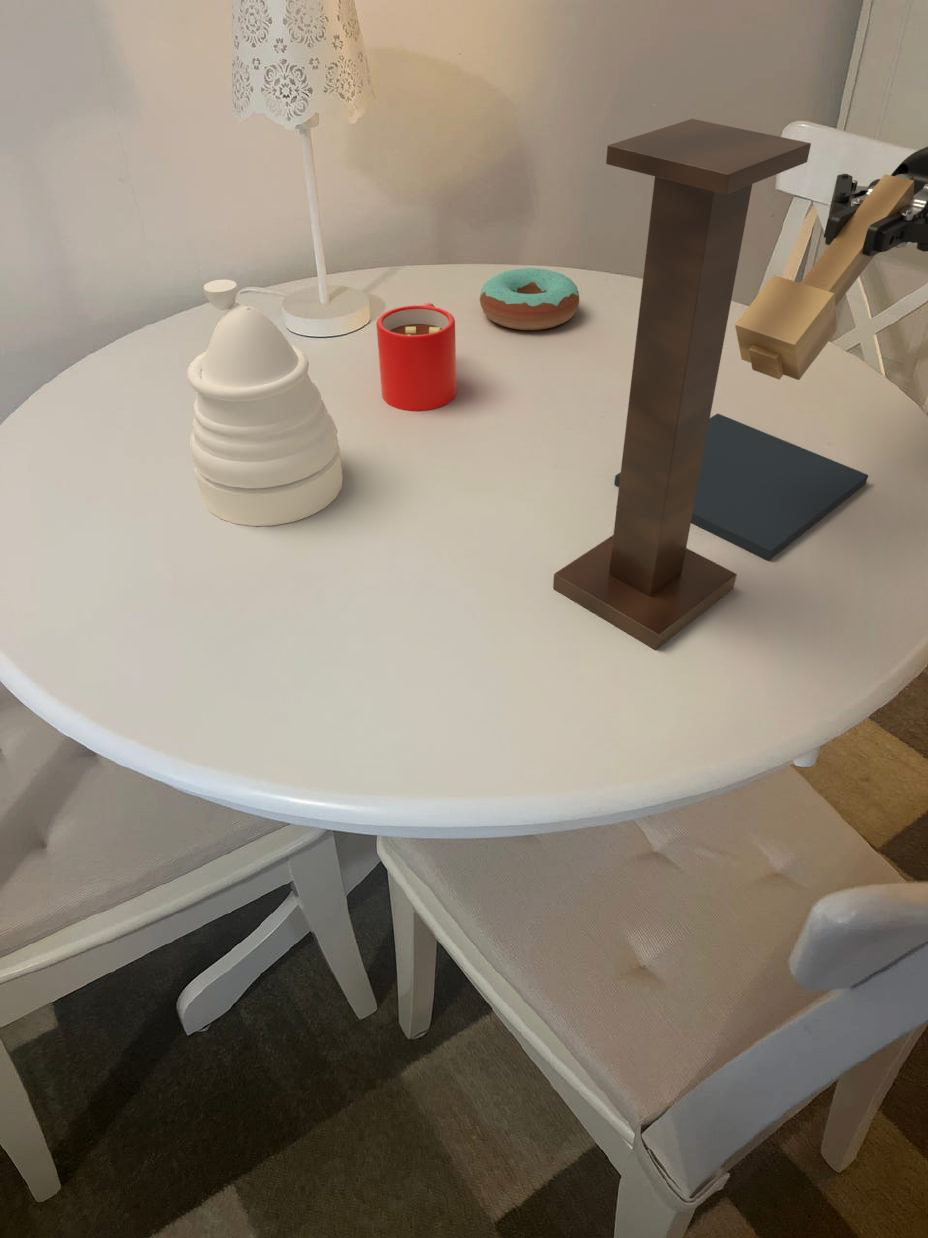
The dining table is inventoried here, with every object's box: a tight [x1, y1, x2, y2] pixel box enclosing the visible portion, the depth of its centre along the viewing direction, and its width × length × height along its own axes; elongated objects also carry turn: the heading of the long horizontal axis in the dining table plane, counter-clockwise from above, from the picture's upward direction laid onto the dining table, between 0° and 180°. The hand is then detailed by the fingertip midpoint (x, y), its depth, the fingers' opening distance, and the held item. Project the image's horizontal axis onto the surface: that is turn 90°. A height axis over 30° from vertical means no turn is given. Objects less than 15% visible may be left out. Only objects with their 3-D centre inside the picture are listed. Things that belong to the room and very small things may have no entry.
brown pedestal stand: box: [552, 118, 812, 651], centre depth 62 cm, size 10×10×32 cm
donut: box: [479, 267, 580, 331], centre depth 111 cm, size 12×12×4 cm
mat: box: [613, 413, 869, 562], centre depth 83 cm, size 16×16×1 cm
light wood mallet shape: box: [734, 174, 914, 381], centre depth 69 cm, size 5×18×4 cm, turn 134°
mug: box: [375, 302, 457, 412], centre depth 96 cm, size 8×12×8 cm, turn 172°
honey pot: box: [186, 279, 344, 527], centre depth 78 cm, size 13×13×18 cm
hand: (850, 236), depth 69 cm, fingers closed on light wood mallet shape, 2 cm apart
